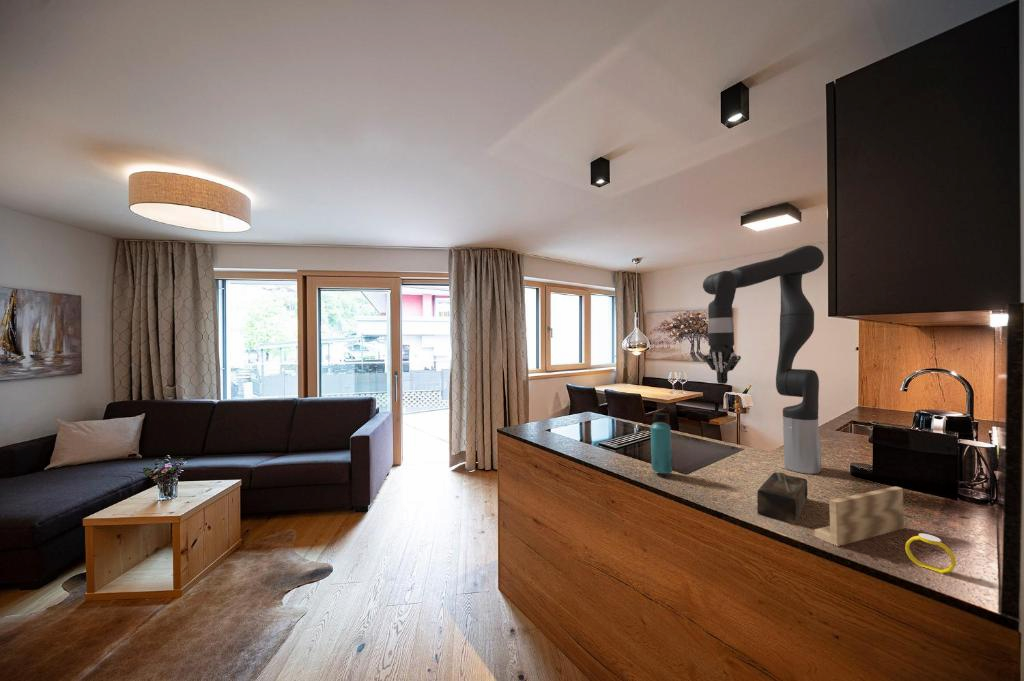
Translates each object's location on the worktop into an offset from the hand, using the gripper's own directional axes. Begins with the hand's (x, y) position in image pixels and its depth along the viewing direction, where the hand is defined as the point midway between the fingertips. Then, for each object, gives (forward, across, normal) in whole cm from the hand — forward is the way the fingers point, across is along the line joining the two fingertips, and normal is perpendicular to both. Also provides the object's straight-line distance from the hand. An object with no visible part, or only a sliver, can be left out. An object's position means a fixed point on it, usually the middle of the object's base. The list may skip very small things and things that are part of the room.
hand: (722, 383), depth 120 cm
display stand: (+29, -40, +6) cm, 50 cm away
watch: (+29, -52, +9) cm, 61 cm away
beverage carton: (+30, -26, +9) cm, 40 cm away
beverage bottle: (+29, +4, +22) cm, 37 cm away
